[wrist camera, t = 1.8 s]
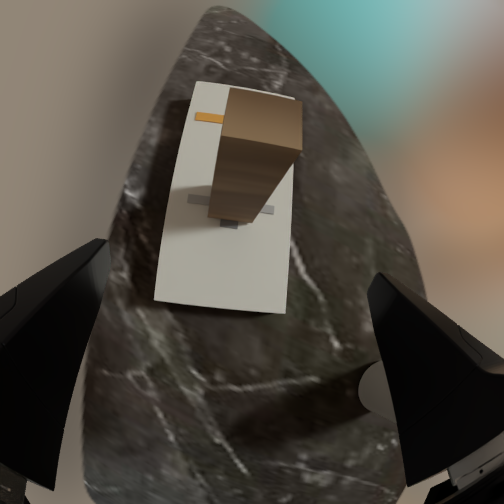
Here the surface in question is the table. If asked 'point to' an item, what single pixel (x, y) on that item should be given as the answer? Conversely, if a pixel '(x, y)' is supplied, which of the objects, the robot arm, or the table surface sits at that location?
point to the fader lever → (253, 152)
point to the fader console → (220, 226)
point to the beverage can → (376, 392)
